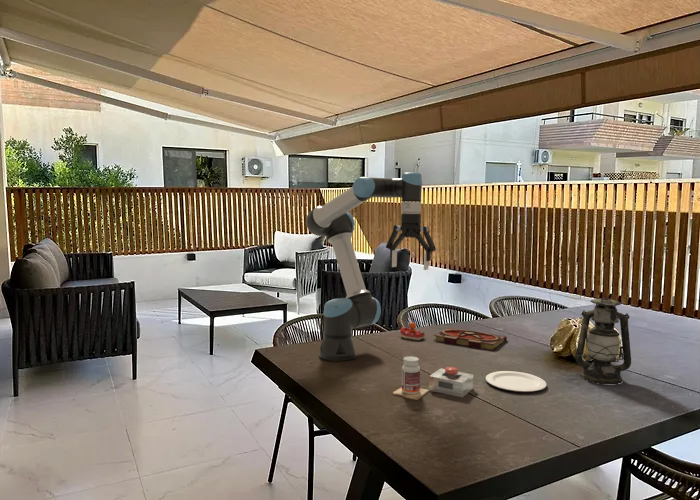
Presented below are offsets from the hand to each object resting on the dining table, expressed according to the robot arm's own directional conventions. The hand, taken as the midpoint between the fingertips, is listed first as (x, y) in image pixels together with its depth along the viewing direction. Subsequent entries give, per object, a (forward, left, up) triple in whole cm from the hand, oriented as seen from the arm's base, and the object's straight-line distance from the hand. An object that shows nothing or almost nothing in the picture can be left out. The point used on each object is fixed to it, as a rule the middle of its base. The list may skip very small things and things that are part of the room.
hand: (409, 268), depth 202 cm
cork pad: (+14, -26, -39) cm, 49 cm away
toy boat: (-17, +39, -39) cm, 58 cm away
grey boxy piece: (+24, -15, -39) cm, 48 cm away
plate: (+41, +3, -39) cm, 57 cm away
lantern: (+67, +25, -39) cm, 81 cm away
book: (+8, +50, -40) cm, 64 cm away
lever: (+24, -15, -38) cm, 47 cm away
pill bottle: (+14, -26, -38) cm, 48 cm away
